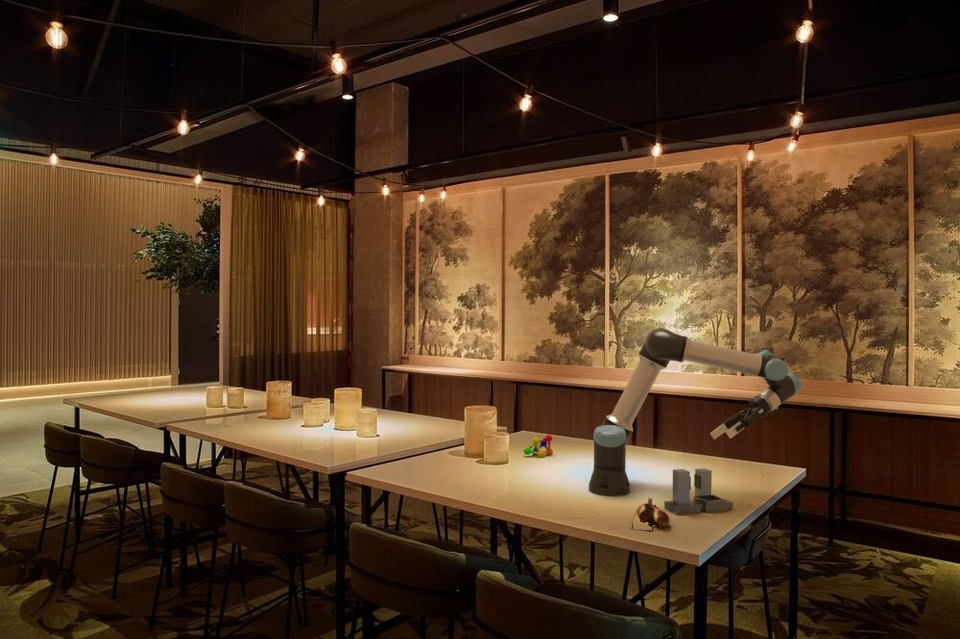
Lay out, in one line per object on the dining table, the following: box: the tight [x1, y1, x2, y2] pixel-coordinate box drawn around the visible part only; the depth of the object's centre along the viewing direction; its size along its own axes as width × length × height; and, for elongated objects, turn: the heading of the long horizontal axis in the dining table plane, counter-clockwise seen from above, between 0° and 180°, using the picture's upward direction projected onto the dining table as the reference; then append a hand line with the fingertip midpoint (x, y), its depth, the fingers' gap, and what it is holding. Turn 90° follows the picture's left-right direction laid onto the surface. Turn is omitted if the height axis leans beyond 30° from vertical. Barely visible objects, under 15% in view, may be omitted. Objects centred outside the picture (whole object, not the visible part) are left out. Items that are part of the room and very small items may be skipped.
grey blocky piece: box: [663, 468, 734, 516], centre depth 230 cm, size 22×8×14 cm, turn 104°
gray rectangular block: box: [693, 467, 713, 496], centre depth 241 cm, size 5×4×11 cm
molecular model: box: [523, 434, 554, 458], centre depth 317 cm, size 11×10×15 cm
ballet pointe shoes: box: [636, 497, 670, 529], centre depth 219 cm, size 14×7×28 cm
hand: (719, 435), depth 248 cm, fingers open, 13 cm apart
